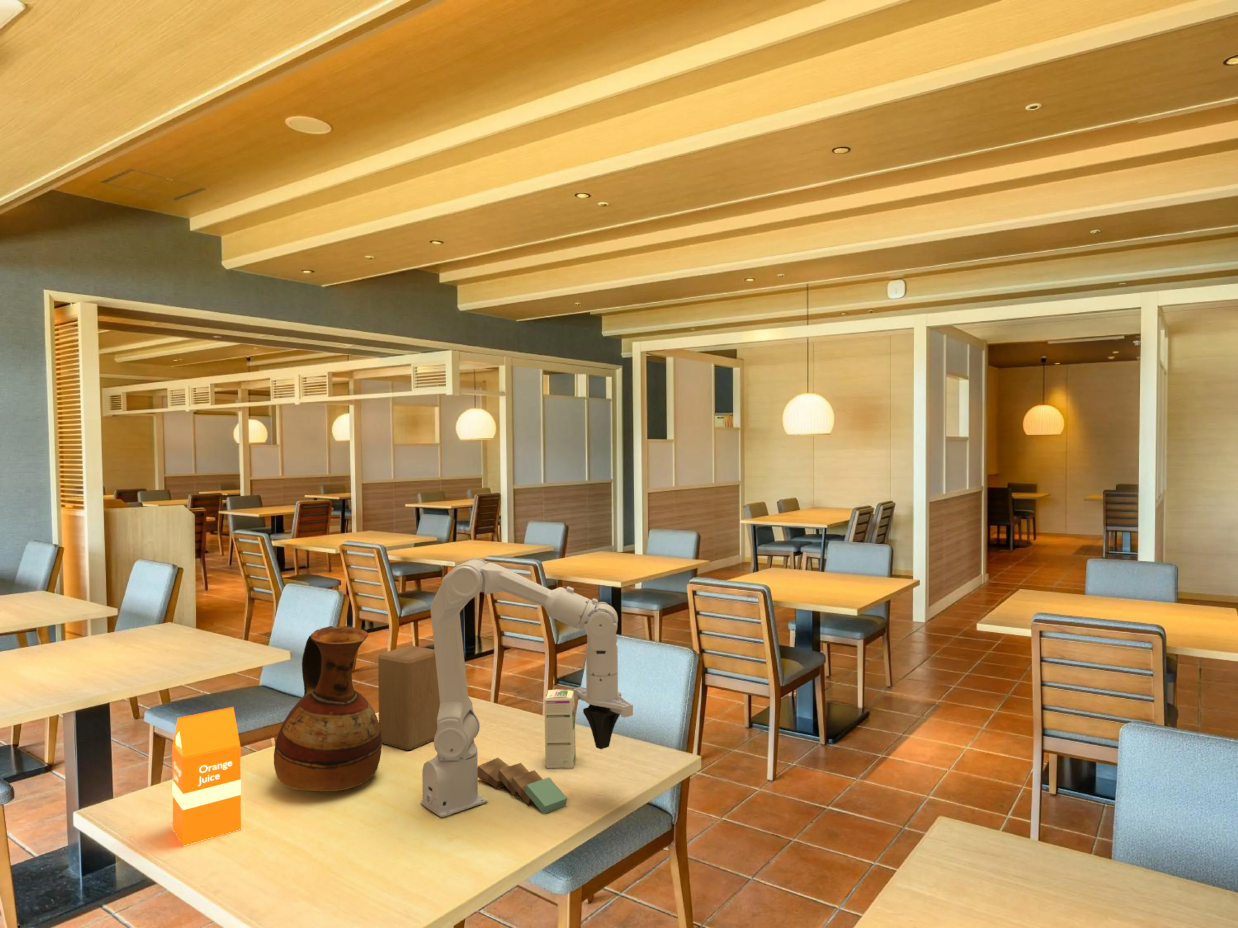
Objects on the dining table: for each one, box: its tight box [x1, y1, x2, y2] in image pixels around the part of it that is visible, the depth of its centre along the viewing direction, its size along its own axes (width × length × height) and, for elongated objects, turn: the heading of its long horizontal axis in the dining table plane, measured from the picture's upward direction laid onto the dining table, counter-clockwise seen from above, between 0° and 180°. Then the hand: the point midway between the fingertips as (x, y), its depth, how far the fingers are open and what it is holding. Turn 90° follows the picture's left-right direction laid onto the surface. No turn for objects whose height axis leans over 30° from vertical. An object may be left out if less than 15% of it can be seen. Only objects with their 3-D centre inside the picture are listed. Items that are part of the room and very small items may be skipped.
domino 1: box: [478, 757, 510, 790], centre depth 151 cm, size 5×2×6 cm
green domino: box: [525, 777, 569, 815], centre depth 140 cm, size 5×2×6 cm
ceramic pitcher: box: [273, 625, 383, 792], centre depth 151 cm, size 20×20×30 cm
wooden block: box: [377, 645, 440, 751], centre depth 173 cm, size 10×10×20 cm
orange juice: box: [171, 706, 242, 847], centre depth 131 cm, size 8×9×20 cm
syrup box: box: [544, 688, 577, 770], centre depth 160 cm, size 6×6×14 cm
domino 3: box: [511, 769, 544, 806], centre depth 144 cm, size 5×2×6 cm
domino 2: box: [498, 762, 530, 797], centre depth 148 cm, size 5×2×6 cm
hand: (602, 746), depth 140 cm, fingers closed
